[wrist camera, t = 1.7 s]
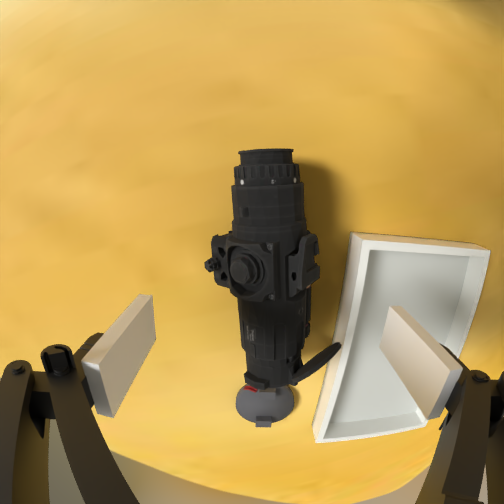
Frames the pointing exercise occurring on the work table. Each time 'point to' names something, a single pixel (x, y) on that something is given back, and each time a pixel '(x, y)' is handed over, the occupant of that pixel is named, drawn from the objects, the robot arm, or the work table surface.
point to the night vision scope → (270, 269)
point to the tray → (373, 322)
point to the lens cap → (265, 405)
